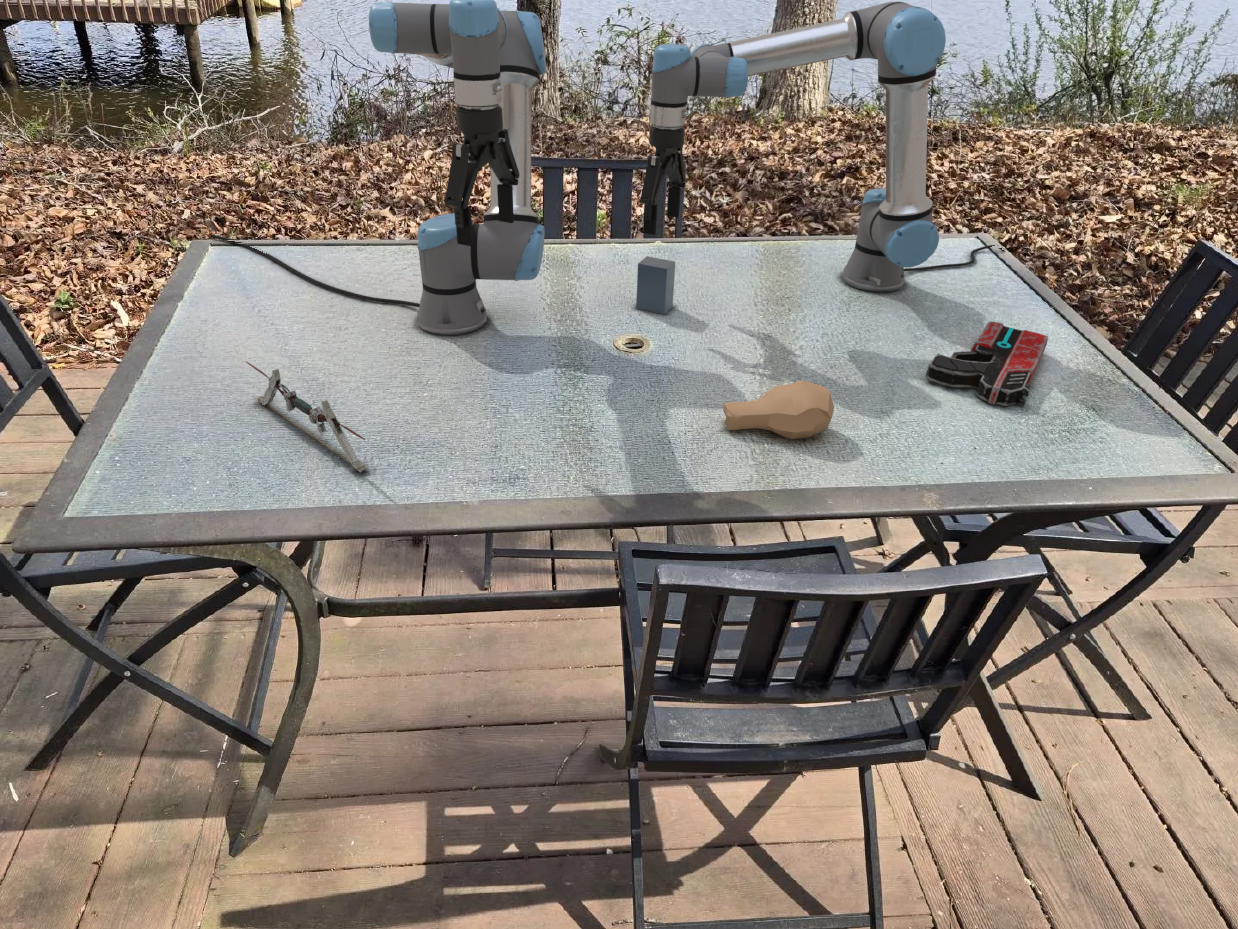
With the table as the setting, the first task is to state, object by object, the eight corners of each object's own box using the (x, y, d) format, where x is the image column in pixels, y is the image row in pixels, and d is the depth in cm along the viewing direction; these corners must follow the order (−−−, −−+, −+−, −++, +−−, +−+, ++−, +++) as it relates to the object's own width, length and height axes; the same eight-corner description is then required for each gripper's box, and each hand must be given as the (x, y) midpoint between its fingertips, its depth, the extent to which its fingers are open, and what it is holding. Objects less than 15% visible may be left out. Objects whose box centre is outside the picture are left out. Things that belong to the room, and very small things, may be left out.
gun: (926, 366, 174) (1027, 394, 166) (962, 310, 196) (1054, 333, 188) (920, 386, 177) (1020, 414, 169) (957, 329, 199) (1047, 352, 191)
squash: (838, 445, 158) (841, 407, 151) (727, 454, 159) (725, 416, 153) (828, 406, 165) (831, 369, 159) (722, 415, 167) (721, 378, 161)
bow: (376, 475, 146) (368, 423, 140) (367, 479, 145) (359, 428, 139) (259, 394, 167) (248, 347, 162) (250, 398, 166) (238, 350, 160)
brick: (636, 308, 206) (637, 263, 199) (644, 300, 210) (646, 256, 203) (664, 314, 203) (667, 268, 197) (672, 306, 207) (675, 261, 201)
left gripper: (455, 123, 132) (465, 258, 144) (536, 94, 151) (539, 215, 163) (414, 117, 134) (427, 250, 146) (498, 89, 153) (504, 209, 165)
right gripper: (661, 140, 174) (655, 244, 186) (704, 116, 193) (696, 212, 205) (626, 135, 177) (623, 238, 188) (673, 112, 196) (667, 206, 207)
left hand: (486, 232), depth 154 cm, fingers open, 13 cm apart
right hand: (661, 224), depth 197 cm, fingers open, 13 cm apart
